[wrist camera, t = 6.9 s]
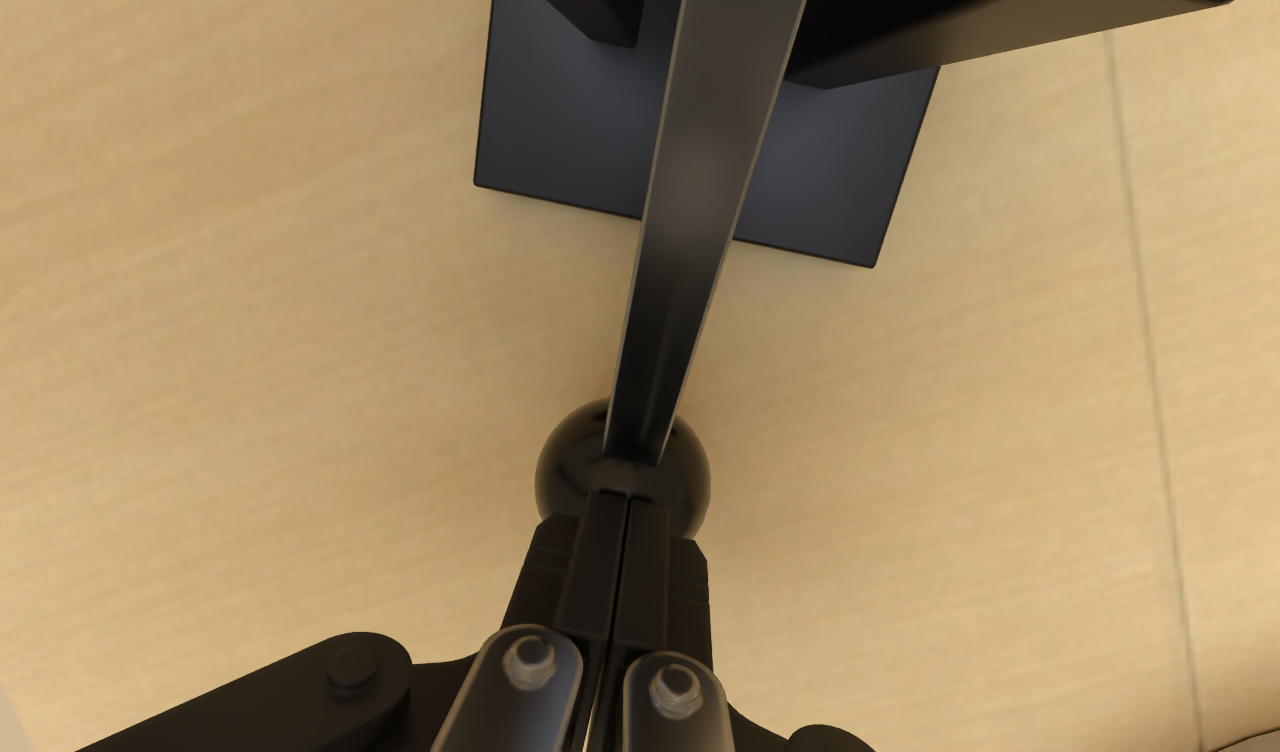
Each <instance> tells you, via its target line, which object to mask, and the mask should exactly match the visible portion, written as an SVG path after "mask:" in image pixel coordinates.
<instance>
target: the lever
mask: <svg viewBox="0 0 1280 752" xmlns="http://www.w3.org/2000/svg"><path fill="white" fill-rule="evenodd" d="M807 1H808V0H681V2H680V8H679V13H678V19H677V25H676V30H675V36H674V42H673V47H672V53H671V59H670V64H669V70H668V75H667V81H666V87H665V92H664V98H663V104H662V109H661V115H660V121H659V126H658V132H657V138H656V143H655V149H654V154H653V160H652V166H651V171H650V177H649V183H648V188H647V194H646V200H645V205H644V211H643V217H642V222H641V228H640V233H639V239H638V245H637V250H636V256H635V262H634V267H633V273H632V279H631V284H630V290H629V296H628V301H627V307H626V313H625V318H624V324H623V329H622V335H621V341H620V346H619V352H618V358H617V363H616V369H615V375H614V380H613V386H612V392H611V397H606V398H601V399H598V400H595V401H592V402H590V403H587V404H585V405H583V406H581V407H580V408H578V409H576V410H575V411H573V412H572V413H570V414H569V415H568V416H567V417H566V418H564V419H563V420H562V421H561V422H560V423H559V424H558V425H557V427H556V428H555V429H554V431H553V432H552V433H551V434H550V436H549V437H548V439H547V441H546V443H545V445H544V447H543V449H542V451H541V454H540V457H539V459H538V464H537V468H536V474H535V495H536V503H537V507H538V511H539V514H540V517H541V519H542V522H543V521H544V520H545V519H547V518H548V517H549V516H550V515H551V514H553V513H554V512H557V513H562V514H567V515H572V516H577V517H583V513H584V509H585V505H586V502H587V498H588V494H589V491H594V492H599V493H604V494H609V495H614V496H619V497H624V498H628V504H627V511H626V518H625V524H626V519H627V515H628V510H629V506H630V502H631V499H634V500H639V501H644V502H649V503H654V504H659V505H664V506H669V507H671V519H670V535H671V536H676V537H681V538H686V539H691V540H692V539H693V538H694V536H695V535H696V533H697V532H698V530H699V529H700V527H701V525H702V523H703V521H704V518H705V515H706V512H707V509H708V506H709V500H710V493H711V476H710V469H709V464H708V460H707V457H706V454H705V451H704V449H703V447H702V445H701V443H700V441H699V439H698V437H697V436H696V434H695V433H694V432H693V430H692V429H691V427H690V426H689V425H688V424H687V423H686V422H685V421H684V420H683V419H682V418H681V417H680V416H678V415H677V414H676V412H677V409H678V406H679V403H680V400H681V397H682V393H683V390H684V387H685V384H686V381H687V378H688V375H689V371H690V368H691V365H692V362H693V359H694V356H695V353H696V349H697V346H698V343H699V340H700V337H701V334H702V331H703V327H704V324H705V321H706V318H707V315H708V312H709V309H710V305H711V302H712V299H713V296H714V293H715V290H716V287H717V283H718V280H719V277H720V274H721V271H722V268H723V265H724V261H725V258H726V255H727V252H728V249H729V246H730V243H731V239H732V236H733V233H734V230H735V227H736V224H737V221H738V217H739V214H740V211H741V208H742V205H743V202H744V199H745V195H746V192H747V189H748V186H749V183H750V180H751V177H752V173H753V170H754V167H755V164H756V161H757V158H758V155H759V151H760V148H761V145H762V142H763V139H764V136H765V133H766V129H767V126H768V123H769V120H770V117H771V114H772V111H773V107H774V104H775V101H776V98H777V95H778V92H779V89H780V85H781V82H782V79H783V76H784V73H785V70H786V67H787V63H788V60H789V57H790V54H791V51H792V48H793V45H794V41H795V38H796V35H797V32H798V29H799V26H800V23H801V19H802V16H803V13H804V10H805V7H806V4H807ZM624 528H625V525H624ZM623 533H624V532H623Z"/></svg>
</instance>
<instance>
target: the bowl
mask: <svg viewBox="0 0 1280 752" xmlns="http://www.w3.org/2000/svg"><path fill="white" fill-rule="evenodd" d="M1218 752H1280V730H1279V731H1275V732H1271V733H1268V734H1264V735H1260V736H1257V737H1253V738H1250V739H1248V740H1245V741H1243V742H1240V743H1238V744H1235V745H1233V746H1231V747H1228V748H1226V749H1223V750H1221V751H1218Z"/></svg>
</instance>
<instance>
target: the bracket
mask: <svg viewBox="0 0 1280 752" xmlns="http://www.w3.org/2000/svg"><path fill="white" fill-rule="evenodd" d="M1232 1H1234V0H808V1H807V4H806V7H805V10H804V13H803V16H802V19H801V23H800V26H799V29H798V32H797V35H796V38H795V41H794V45H793V48H792V51H791V54H790V57H789V60H788V63H787V67H786V70H785V73H784V76H783V79H782V82H781V85H780V89H779V92H778V95H777V98H776V101H775V104H774V107H773V111H772V114H771V117H770V120H769V123H768V126H767V129H766V133H765V136H764V139H763V142H762V145H761V148H760V151H759V155H758V158H757V161H756V164H755V167H754V170H753V173H752V177H751V180H750V183H749V186H748V189H747V192H746V195H745V199H744V202H743V205H742V208H741V211H740V214H739V217H738V221H737V224H736V227H735V230H734V233H733V236H732V239H731V240H735V241H740V242H745V243H749V244H754V245H759V246H764V247H769V248H773V249H778V250H783V251H788V252H792V253H797V254H802V255H807V256H812V257H816V258H821V259H826V260H831V261H836V262H840V263H845V264H850V265H855V266H859V267H864V268H869V269H871V268H874V267H875V265H876V262H877V259H878V256H879V253H880V250H881V247H882V244H883V241H884V238H885V235H886V232H887V229H888V226H889V223H890V220H891V217H892V214H893V211H894V208H895V205H896V202H897V198H898V195H899V192H900V189H901V186H902V183H903V180H904V177H905V174H906V171H907V168H908V165H909V162H910V159H911V156H912V153H913V150H914V147H915V144H916V141H917V138H918V135H919V131H920V128H921V125H922V122H923V119H924V116H925V113H926V110H927V107H928V104H929V101H930V98H931V95H932V92H933V89H934V86H935V83H936V80H937V77H938V74H939V71H940V68H941V65H946V64H950V63H955V62H960V61H964V60H969V59H974V58H978V57H983V56H988V55H992V54H997V53H1002V52H1006V51H1011V50H1016V49H1020V48H1025V47H1030V46H1034V45H1039V44H1044V43H1048V42H1053V41H1058V40H1062V39H1067V38H1072V37H1076V36H1081V35H1086V34H1090V33H1095V32H1100V31H1104V30H1109V29H1114V28H1119V27H1123V26H1128V25H1133V24H1137V23H1142V22H1147V21H1151V20H1156V19H1161V18H1165V17H1170V16H1175V15H1179V14H1184V13H1189V12H1193V11H1198V10H1203V9H1207V8H1212V7H1217V6H1221V5H1226V4H1230V3H1231V2H1232ZM680 2H681V0H492V1H491V11H490V21H489V31H488V40H487V50H486V60H485V70H484V80H483V90H482V99H481V109H480V119H479V129H478V139H477V148H476V158H475V168H474V178H473V183H474V185H475V186H477V187H481V188H486V189H491V190H496V191H500V192H505V193H510V194H515V195H519V196H524V197H529V198H534V199H539V200H543V201H548V202H553V203H558V204H563V205H567V206H572V207H577V208H582V209H587V210H591V211H596V212H601V213H606V214H610V215H615V216H620V217H625V218H630V219H634V220H639V221H642V217H643V211H644V205H645V200H646V194H647V188H648V183H649V177H650V171H651V166H652V160H653V154H654V149H655V143H656V138H657V132H658V126H659V121H660V115H661V109H662V104H663V98H664V92H665V87H666V81H667V75H668V70H669V64H670V59H671V53H672V47H673V42H674V36H675V30H676V25H677V19H678V13H679V8H680Z"/></svg>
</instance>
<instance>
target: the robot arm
mask: <svg viewBox="0 0 1280 752" xmlns="http://www.w3.org/2000/svg"><path fill="white" fill-rule="evenodd" d="M627 504H628V498H624V497H619V496H614V495H609V494H604V493H599V492H594V491H589V494H588V498H587V502H586V505H585V509H584V513H583V517H577V516H572V515H567V514H562V513H557V512H554V513H553V514H551V515H550V516H549V517H548V518H547V519H545V520H544V521H543V522H542V523H540V524H539V525H538V526H537V528H536V530H535V533H534V536H533V539H532V541H531V544H530V548H529V550H528V553H527V555H526V558H525V561H524V565H523V566H522V569H521V572H520V575H519V577H518V580H517V583H516V586H515V589H514V591H513V594H512V597H511V600H510V602H509V605H508V608H507V611H506V613H505V616H504V619H503V622H502V625H501V627H500V629H499V631H498V632H496V633H494V634H493V635H492V636H490V637H489V638H488V639H487V640H486V641H485V642H484V644H483V645H482V647H481V649H480V650H479V651H478V652H476V653H474V654H472V655H470V656H467V657H465V658H462V659H458V660H454V661H448V662H440V663H426V664H412V660H411V658H410V656H409V653H408V652H407V651H406V649H405V648H404V647H403V646H402V645H401V644H400V643H399V642H397V641H395V640H394V639H392V638H390V637H387V636H385V635H382V634H378V633H372V632H352V633H345V634H341V635H337V636H334V637H331V638H328V639H326V640H324V641H321V642H319V643H317V644H315V645H312V646H310V647H308V648H306V649H303V650H301V651H299V652H297V653H294V654H292V655H290V656H288V657H285V658H283V659H281V660H279V661H277V662H274V663H272V664H270V665H268V666H265V667H263V668H261V669H259V670H256V671H254V672H252V673H250V674H247V675H245V676H243V677H241V678H238V679H236V680H234V681H232V682H230V683H227V684H225V685H223V686H221V687H218V688H216V689H214V690H212V691H209V692H207V693H205V694H203V695H200V696H198V697H196V698H194V699H191V700H189V701H187V702H185V703H183V704H180V705H178V706H176V707H174V708H171V709H169V710H167V711H165V712H162V713H160V714H158V715H156V716H153V717H151V718H149V719H147V720H144V721H142V722H140V723H138V724H136V725H133V726H131V727H129V728H127V729H124V730H122V731H120V732H118V733H115V734H113V735H111V736H109V737H106V738H104V739H102V740H100V741H97V742H95V743H93V744H91V745H89V746H86V747H84V748H82V749H80V750H77V751H75V752H582V751H583V746H584V742H585V737H586V733H587V729H588V724H589V720H590V716H591V722H590V729H589V735H588V742H587V748H586V752H875V751H874V750H873V749H872V748H871V747H870V746H869V745H868V744H866V743H865V742H864V741H862V740H861V739H859V738H858V737H856V736H854V735H853V734H851V733H849V732H847V731H845V730H842V729H840V728H837V727H833V726H829V725H822V724H814V725H808V726H805V727H802V728H800V729H798V730H797V731H795V732H794V733H793V734H792V735H791V737H790V738H789V740H787V739H785V738H783V737H781V736H779V735H777V734H775V733H773V732H771V731H769V730H767V729H765V728H763V727H761V726H759V725H757V724H755V723H753V722H752V721H750V720H748V719H747V718H745V717H744V716H743V715H741V714H740V713H739V712H738V711H737V710H735V709H734V708H733V707H732V706H731V705H730V704H729V702H728V701H727V699H726V695H725V691H724V689H723V687H722V685H721V683H720V681H719V680H718V678H717V677H716V676H715V675H714V673H713V661H712V642H711V624H710V606H709V603H708V602H709V588H708V570H707V560H706V558H705V557H704V555H703V553H702V552H701V550H700V548H699V547H698V545H697V544H696V542H695V540H691V539H686V538H681V537H676V536H671V535H670V519H671V507H669V506H664V505H659V504H654V503H649V502H644V501H639V500H634V499H631V502H630V506H629V510H628V515H627V519H626V524H625V518H626V511H627ZM624 525H625V528H624ZM623 532H624V533H623ZM592 707H593V709H592ZM591 711H592V715H591Z"/></svg>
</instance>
